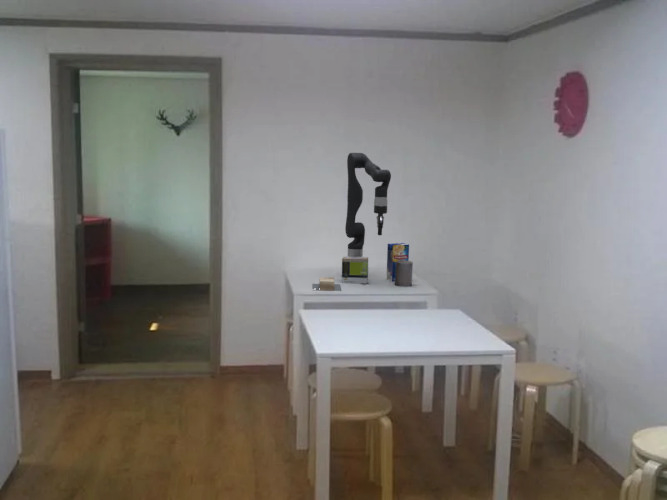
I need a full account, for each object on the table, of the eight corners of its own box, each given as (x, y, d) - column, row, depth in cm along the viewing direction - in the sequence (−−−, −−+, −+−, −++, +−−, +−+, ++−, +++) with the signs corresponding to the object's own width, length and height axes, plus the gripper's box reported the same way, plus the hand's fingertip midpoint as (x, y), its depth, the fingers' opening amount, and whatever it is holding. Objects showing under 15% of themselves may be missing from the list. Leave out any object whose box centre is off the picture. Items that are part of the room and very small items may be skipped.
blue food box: (407, 280, 434) (409, 244, 431) (392, 281, 429) (393, 245, 426) (401, 278, 440) (403, 243, 437) (386, 279, 435) (387, 243, 432)
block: (319, 277, 408) (319, 281, 395) (333, 277, 408) (334, 281, 395) (319, 285, 409) (319, 290, 396) (333, 286, 409) (334, 290, 396)
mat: (312, 284, 415) (312, 283, 415) (340, 284, 415) (340, 284, 415) (312, 290, 395) (312, 290, 395) (341, 291, 396) (341, 290, 396)
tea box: (368, 281, 429) (368, 256, 427) (367, 284, 419) (367, 259, 417) (342, 280, 430) (343, 255, 428) (341, 283, 420) (341, 258, 418)
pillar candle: (392, 283, 423) (393, 258, 420) (407, 282, 426) (408, 257, 424) (399, 286, 414) (400, 261, 411) (414, 286, 417) (415, 260, 415)
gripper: (373, 203, 417) (372, 233, 420) (375, 205, 404) (374, 236, 407) (386, 204, 418) (385, 234, 420) (388, 205, 405) (387, 236, 407)
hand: (379, 235), depth 413 cm, fingers closed
